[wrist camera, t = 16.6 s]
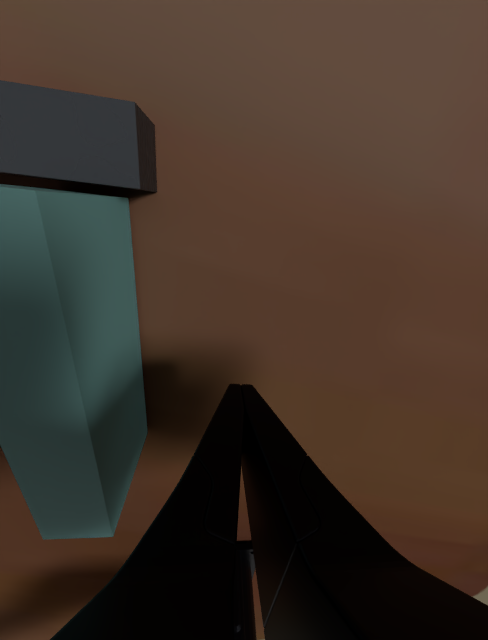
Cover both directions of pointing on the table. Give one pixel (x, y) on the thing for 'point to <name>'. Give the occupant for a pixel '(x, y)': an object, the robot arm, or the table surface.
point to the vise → (75, 138)
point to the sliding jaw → (69, 357)
